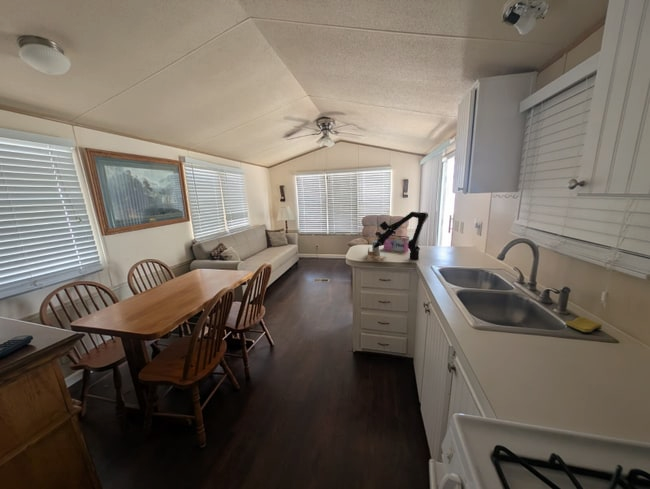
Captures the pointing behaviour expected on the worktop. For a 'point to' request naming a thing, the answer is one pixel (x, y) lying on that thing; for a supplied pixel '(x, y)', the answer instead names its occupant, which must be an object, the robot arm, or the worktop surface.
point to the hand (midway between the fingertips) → (374, 246)
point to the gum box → (397, 243)
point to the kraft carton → (375, 256)
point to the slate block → (375, 248)
